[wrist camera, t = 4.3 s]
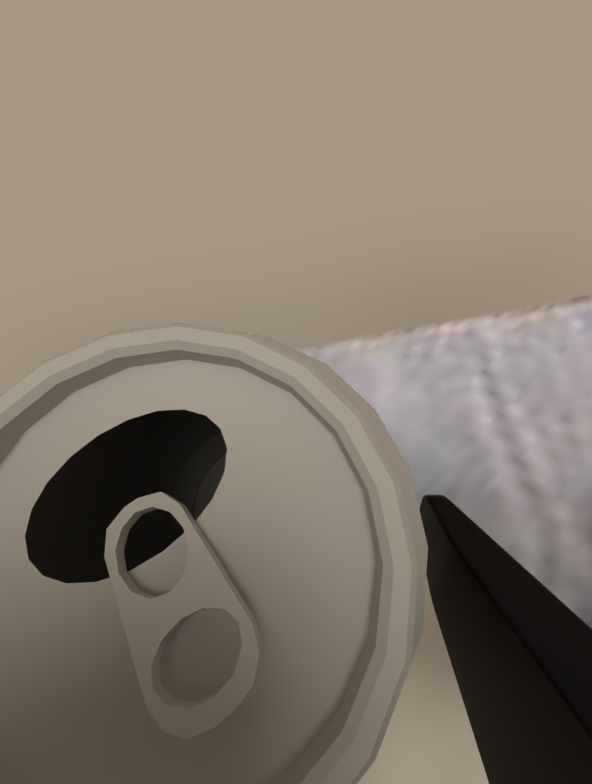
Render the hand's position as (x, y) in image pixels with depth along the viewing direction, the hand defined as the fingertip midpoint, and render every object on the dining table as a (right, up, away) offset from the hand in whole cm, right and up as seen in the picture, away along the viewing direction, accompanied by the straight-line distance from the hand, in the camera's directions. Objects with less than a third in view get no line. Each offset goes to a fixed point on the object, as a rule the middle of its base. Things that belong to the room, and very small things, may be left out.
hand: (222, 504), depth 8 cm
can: (0, -3, +8) cm, 8 cm away
